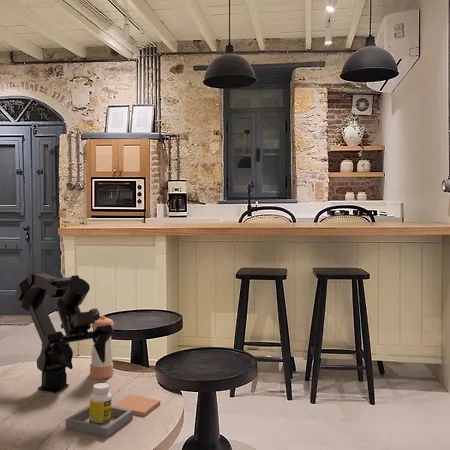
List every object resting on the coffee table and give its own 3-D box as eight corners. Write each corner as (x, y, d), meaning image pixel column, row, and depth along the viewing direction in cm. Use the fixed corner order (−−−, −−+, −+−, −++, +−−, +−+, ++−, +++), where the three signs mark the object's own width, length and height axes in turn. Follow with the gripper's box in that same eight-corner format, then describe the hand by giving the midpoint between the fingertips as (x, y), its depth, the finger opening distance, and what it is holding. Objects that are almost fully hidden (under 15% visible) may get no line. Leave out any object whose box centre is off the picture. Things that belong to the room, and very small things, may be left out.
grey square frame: (65, 427, 130) (65, 419, 130) (94, 410, 142) (94, 402, 142) (106, 437, 126) (106, 428, 126) (132, 418, 137) (132, 410, 137)
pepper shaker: (95, 370, 173) (96, 312, 172) (116, 372, 172) (117, 314, 171) (86, 377, 166) (87, 317, 165) (108, 379, 165) (109, 319, 164)
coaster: (111, 409, 143) (112, 405, 142) (129, 397, 151) (129, 394, 151) (144, 416, 139) (144, 412, 139) (160, 404, 147) (160, 400, 147)
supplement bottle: (105, 429, 131) (106, 390, 130) (85, 426, 132) (86, 388, 131) (114, 420, 136) (115, 383, 135) (94, 417, 137) (95, 380, 137)
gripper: (46, 302, 136) (63, 355, 128) (111, 295, 148) (130, 343, 140) (34, 326, 142) (50, 378, 134) (97, 317, 154) (115, 364, 147)
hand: (88, 365), depth 139 cm, fingers open, 9 cm apart
